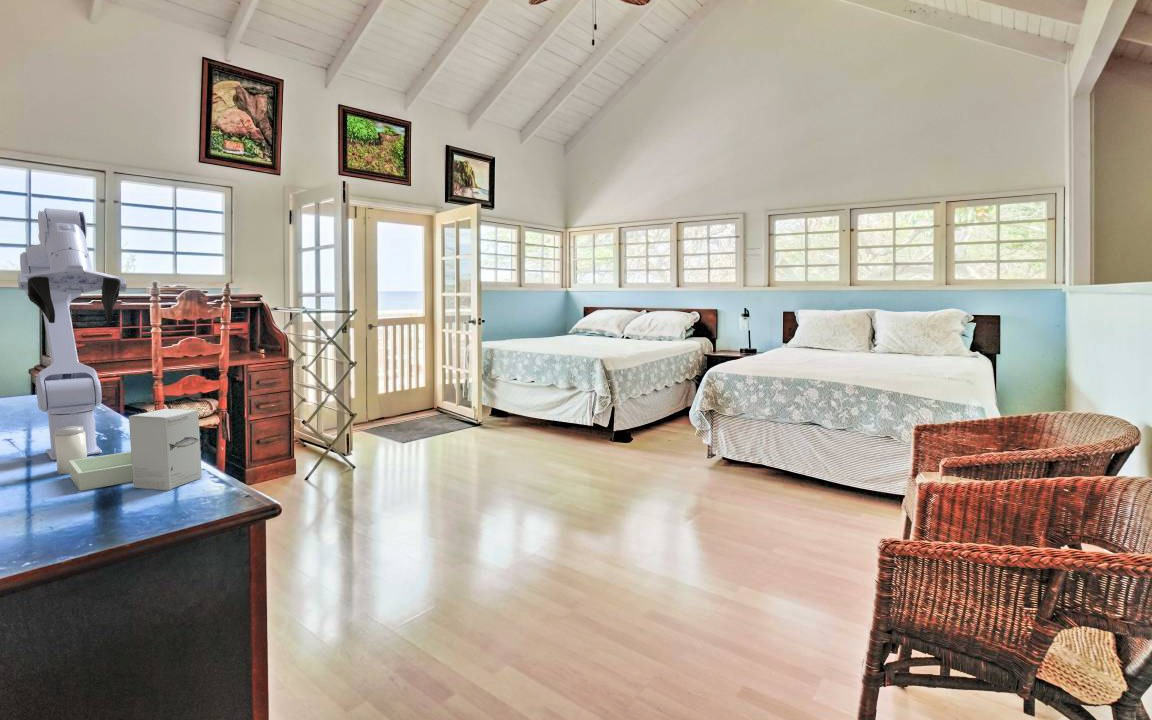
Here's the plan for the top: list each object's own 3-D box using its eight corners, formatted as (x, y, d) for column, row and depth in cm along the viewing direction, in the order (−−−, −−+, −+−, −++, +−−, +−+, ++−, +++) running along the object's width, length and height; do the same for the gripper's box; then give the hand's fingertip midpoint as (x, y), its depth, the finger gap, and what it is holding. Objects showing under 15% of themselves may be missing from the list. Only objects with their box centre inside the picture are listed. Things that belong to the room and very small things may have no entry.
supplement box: (168, 491, 102) (163, 417, 101) (132, 488, 104) (126, 415, 102) (203, 478, 109) (199, 409, 108) (168, 475, 111) (164, 407, 110)
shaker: (56, 470, 114) (52, 428, 113) (86, 465, 117) (82, 424, 116) (59, 475, 111) (55, 432, 110) (89, 470, 114) (86, 428, 113)
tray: (70, 477, 110) (68, 460, 109) (143, 464, 118) (142, 449, 117) (79, 490, 102) (78, 473, 102) (157, 477, 110) (156, 460, 110)
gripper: (14, 241, 101) (24, 302, 96) (122, 247, 111) (136, 303, 106) (14, 271, 105) (24, 331, 100) (118, 274, 116) (131, 329, 110)
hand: (81, 318), depth 103 cm, fingers open, 7 cm apart
